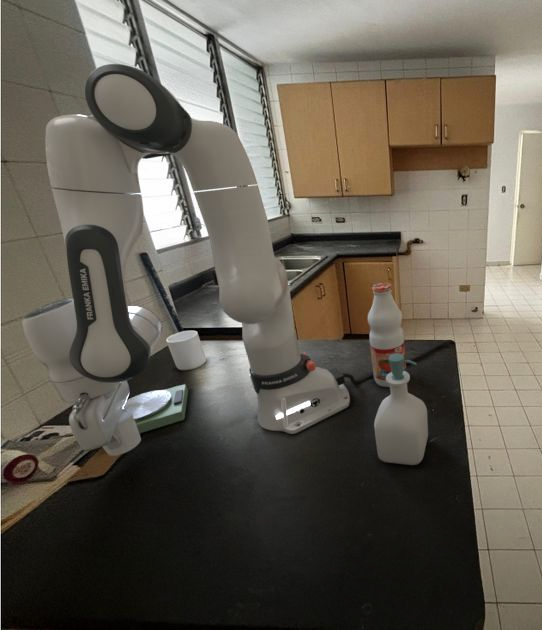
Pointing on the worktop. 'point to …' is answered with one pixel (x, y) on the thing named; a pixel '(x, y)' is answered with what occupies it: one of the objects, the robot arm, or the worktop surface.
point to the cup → (186, 350)
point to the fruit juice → (384, 332)
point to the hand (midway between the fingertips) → (120, 436)
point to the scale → (167, 411)
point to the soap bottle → (401, 419)
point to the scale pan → (147, 403)
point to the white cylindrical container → (125, 434)
